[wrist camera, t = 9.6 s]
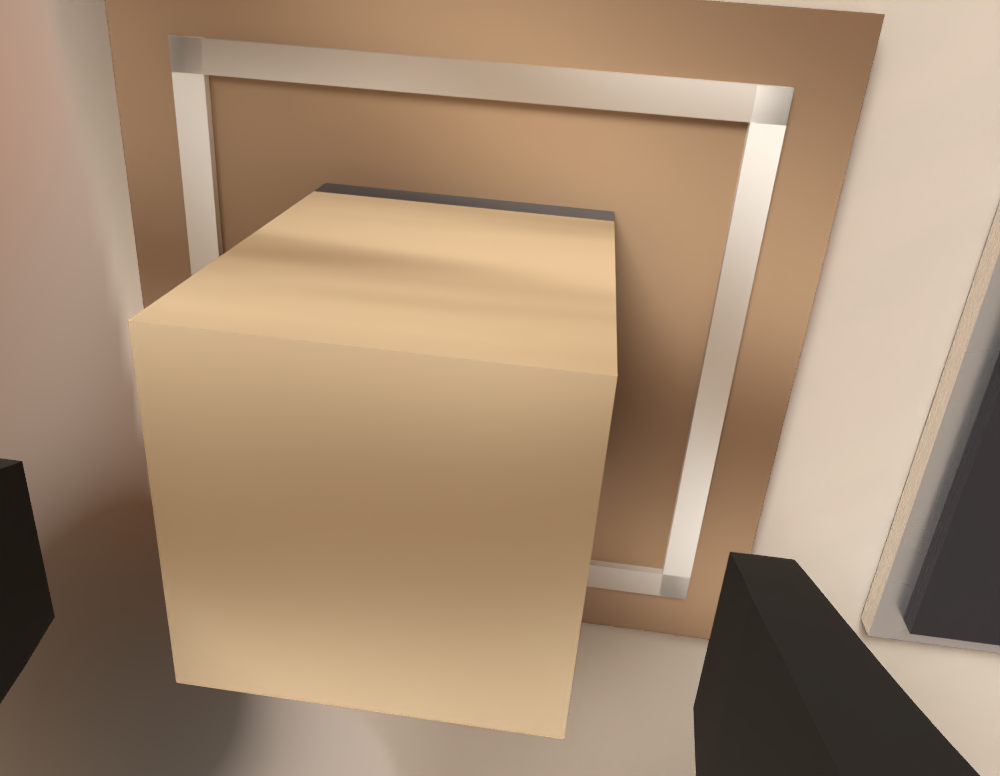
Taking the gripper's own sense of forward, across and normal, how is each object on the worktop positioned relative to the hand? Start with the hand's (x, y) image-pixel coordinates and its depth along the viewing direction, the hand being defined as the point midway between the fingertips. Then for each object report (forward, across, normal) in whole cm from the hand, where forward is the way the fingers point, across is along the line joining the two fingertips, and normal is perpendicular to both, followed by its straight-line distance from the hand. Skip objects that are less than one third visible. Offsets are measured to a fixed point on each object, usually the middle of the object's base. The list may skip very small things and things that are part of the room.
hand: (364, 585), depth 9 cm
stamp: (+6, 0, 0) cm, 6 cm away
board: (+7, 0, 0) cm, 7 cm away
